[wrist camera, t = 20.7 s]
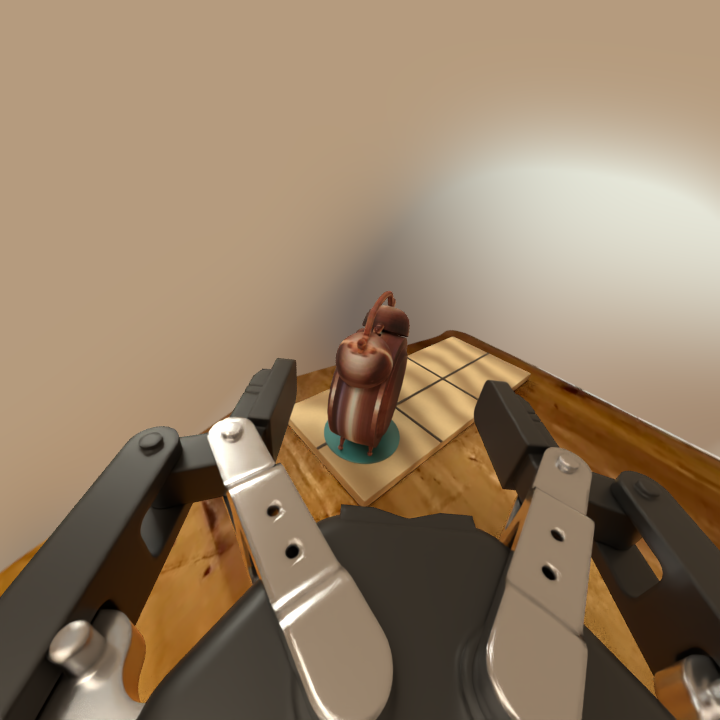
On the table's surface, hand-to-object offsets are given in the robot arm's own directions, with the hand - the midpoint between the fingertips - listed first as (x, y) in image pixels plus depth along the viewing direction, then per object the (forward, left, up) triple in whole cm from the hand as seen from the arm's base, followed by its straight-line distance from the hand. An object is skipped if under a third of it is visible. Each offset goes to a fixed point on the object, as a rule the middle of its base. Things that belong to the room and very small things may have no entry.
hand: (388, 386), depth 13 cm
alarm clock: (-2, +12, -16) cm, 20 cm away
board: (+4, +23, -17) cm, 28 cm away
